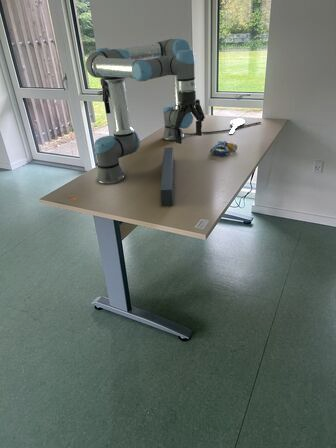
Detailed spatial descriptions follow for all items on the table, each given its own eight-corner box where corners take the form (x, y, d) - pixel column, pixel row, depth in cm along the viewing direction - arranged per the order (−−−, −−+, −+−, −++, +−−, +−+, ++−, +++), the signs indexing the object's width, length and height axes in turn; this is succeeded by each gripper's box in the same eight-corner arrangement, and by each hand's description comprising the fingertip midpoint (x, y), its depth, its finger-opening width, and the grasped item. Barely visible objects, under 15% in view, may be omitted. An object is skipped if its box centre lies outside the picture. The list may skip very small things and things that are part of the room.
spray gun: (240, 146, 220) (218, 145, 226) (240, 140, 217) (218, 139, 224) (230, 158, 204) (207, 156, 211) (230, 151, 202) (207, 150, 208)
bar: (165, 161, 209) (164, 147, 205) (173, 160, 209) (172, 147, 204) (161, 206, 158) (160, 190, 154) (172, 205, 158) (171, 189, 154)
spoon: (237, 136, 244) (237, 133, 243) (223, 136, 248) (223, 133, 247) (246, 120, 270) (246, 118, 269) (232, 120, 274) (232, 117, 273)
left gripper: (172, 96, 134) (176, 148, 145) (212, 85, 148) (212, 133, 159) (159, 95, 139) (164, 145, 150) (199, 85, 153) (200, 131, 164)
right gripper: (93, 77, 203) (99, 112, 214) (107, 80, 184) (114, 120, 195) (105, 75, 206) (110, 110, 217) (120, 78, 187) (125, 117, 198)
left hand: (189, 139), depth 154 cm, fingers open, 13 cm apart
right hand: (112, 115), depth 206 cm, fingers open, 13 cm apart
